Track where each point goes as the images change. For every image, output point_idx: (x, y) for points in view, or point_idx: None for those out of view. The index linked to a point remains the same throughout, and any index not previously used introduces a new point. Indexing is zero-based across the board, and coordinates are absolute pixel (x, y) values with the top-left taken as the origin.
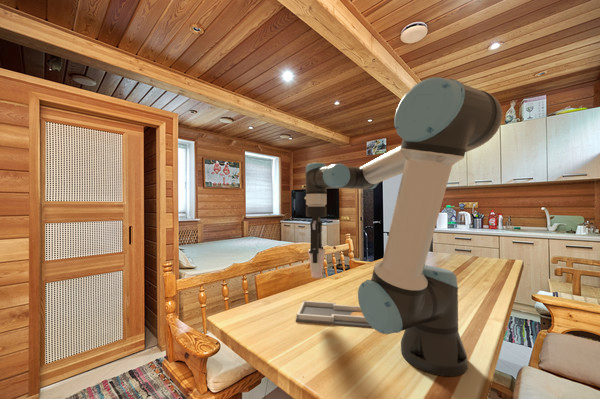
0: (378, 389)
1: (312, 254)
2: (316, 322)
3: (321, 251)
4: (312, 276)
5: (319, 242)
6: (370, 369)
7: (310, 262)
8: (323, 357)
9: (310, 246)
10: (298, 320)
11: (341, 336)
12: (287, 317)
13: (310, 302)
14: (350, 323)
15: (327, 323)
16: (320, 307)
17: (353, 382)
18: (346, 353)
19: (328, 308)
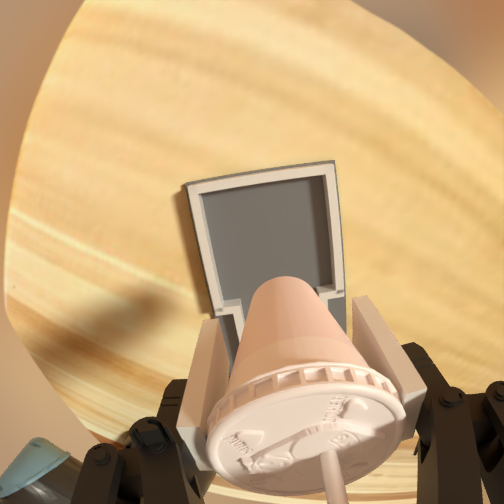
0: (56, 386)
1: (183, 425)
2: (200, 255)
3: (244, 487)
4: (257, 291)
5: (419, 497)
6: (85, 382)
7: (252, 334)
8: (66, 309)
9: (74, 490)
10: (187, 193)
11: (158, 334)
12: (205, 140)
13: (328, 199)
14: (227, 351)
15: (208, 289)
16: (320, 239)
17: (46, 358)
18: (101, 348)
19: (319, 269)
